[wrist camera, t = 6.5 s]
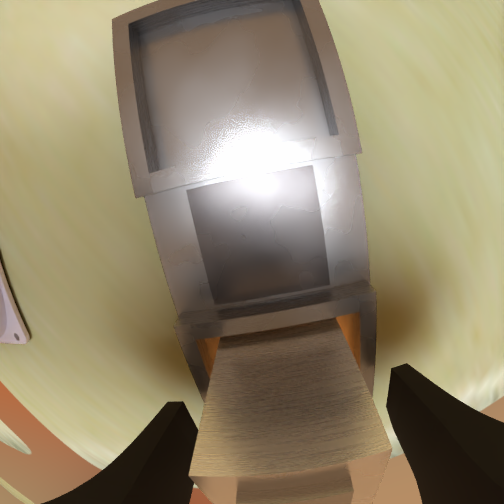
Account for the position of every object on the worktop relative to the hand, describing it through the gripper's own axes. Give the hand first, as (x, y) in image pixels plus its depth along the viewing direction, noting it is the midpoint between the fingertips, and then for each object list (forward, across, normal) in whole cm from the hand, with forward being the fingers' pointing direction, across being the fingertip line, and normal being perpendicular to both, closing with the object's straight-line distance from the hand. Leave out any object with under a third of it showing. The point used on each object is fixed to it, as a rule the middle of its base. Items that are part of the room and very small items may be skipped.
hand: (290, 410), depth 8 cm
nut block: (+2, 0, 0) cm, 2 cm away
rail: (+3, 0, -5) cm, 6 cm away
